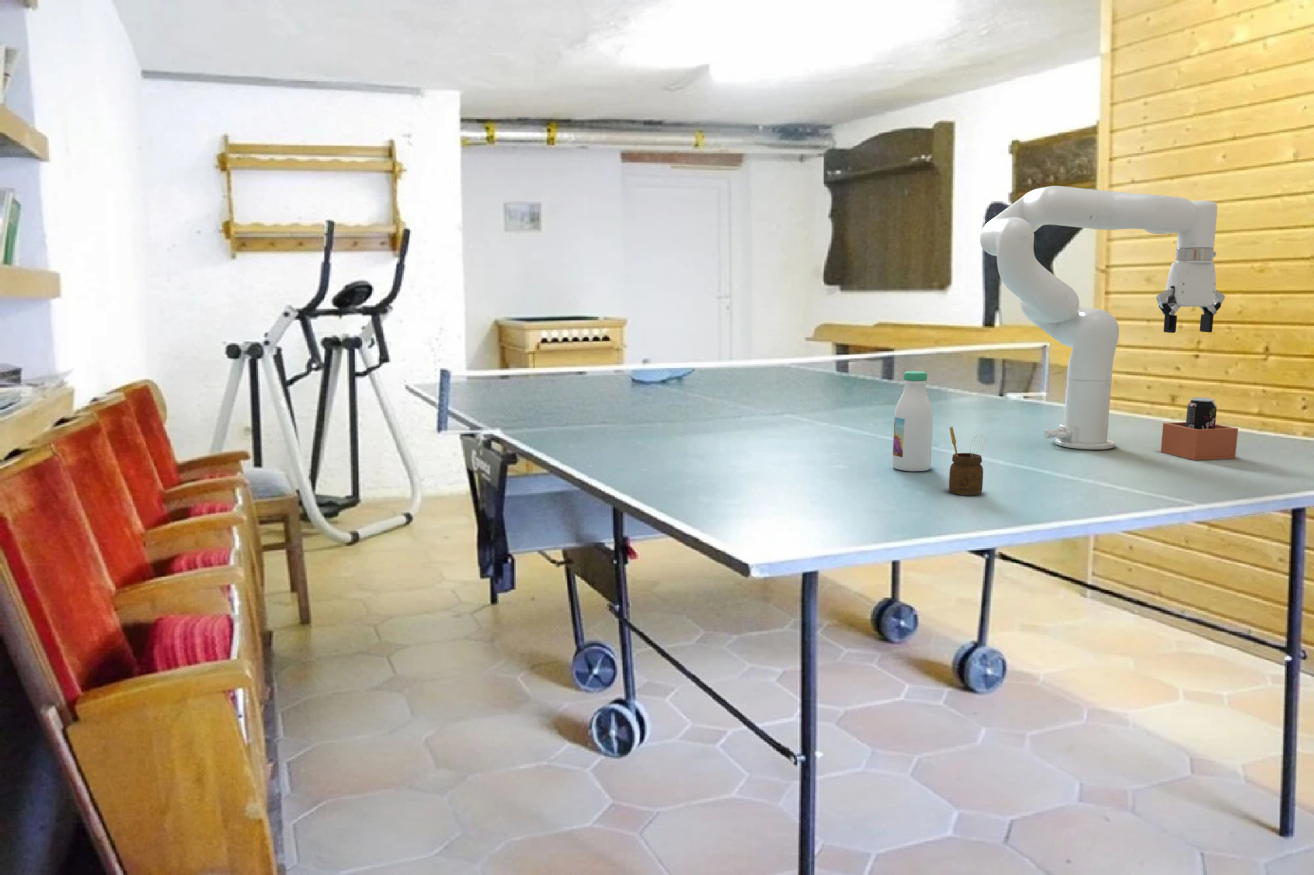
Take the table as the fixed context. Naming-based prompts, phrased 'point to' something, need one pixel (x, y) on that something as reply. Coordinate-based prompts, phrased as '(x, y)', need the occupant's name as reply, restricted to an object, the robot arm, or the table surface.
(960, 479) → the utensil holder
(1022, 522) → the table surface
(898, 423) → the milk bottle
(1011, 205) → the robot arm
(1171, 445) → the bin
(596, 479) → the table surface
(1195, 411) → the beverage can
